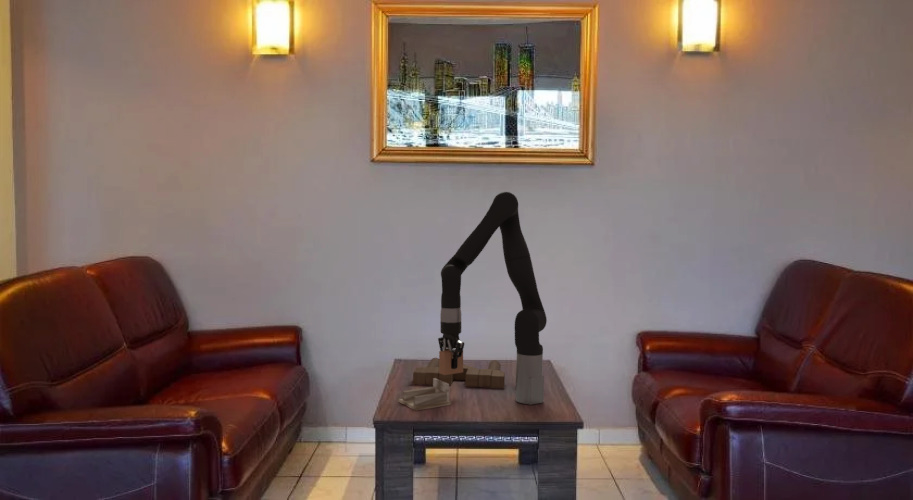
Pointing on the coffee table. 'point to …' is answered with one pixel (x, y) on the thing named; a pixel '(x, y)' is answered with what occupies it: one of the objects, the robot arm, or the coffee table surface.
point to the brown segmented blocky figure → (462, 375)
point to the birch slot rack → (427, 396)
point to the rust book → (449, 363)
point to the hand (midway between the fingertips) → (451, 367)
